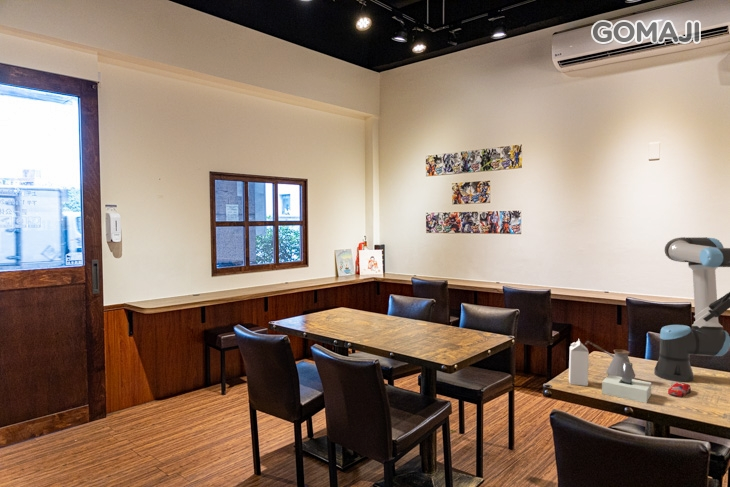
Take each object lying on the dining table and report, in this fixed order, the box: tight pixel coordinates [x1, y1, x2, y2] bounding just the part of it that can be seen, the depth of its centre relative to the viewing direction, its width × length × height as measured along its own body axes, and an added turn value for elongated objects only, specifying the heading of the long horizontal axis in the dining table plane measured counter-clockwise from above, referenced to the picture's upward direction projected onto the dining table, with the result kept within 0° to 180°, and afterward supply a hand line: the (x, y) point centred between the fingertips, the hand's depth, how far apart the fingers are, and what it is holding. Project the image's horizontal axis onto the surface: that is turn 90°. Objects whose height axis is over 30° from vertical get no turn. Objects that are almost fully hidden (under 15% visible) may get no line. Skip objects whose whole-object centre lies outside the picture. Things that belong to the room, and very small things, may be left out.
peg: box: [622, 361, 633, 385], centre depth 195 cm, size 4×4×13 cm
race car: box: [667, 381, 692, 398], centre depth 198 cm, size 13×5×4 cm, turn 127°
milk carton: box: [568, 338, 590, 387], centre depth 209 cm, size 7×7×19 cm
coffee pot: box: [584, 340, 636, 379], centre depth 217 cm, size 21×12×15 cm, turn 45°
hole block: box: [601, 374, 652, 404], centre depth 196 cm, size 16×12×5 cm
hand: (696, 322), depth 188 cm, fingers open, 13 cm apart
